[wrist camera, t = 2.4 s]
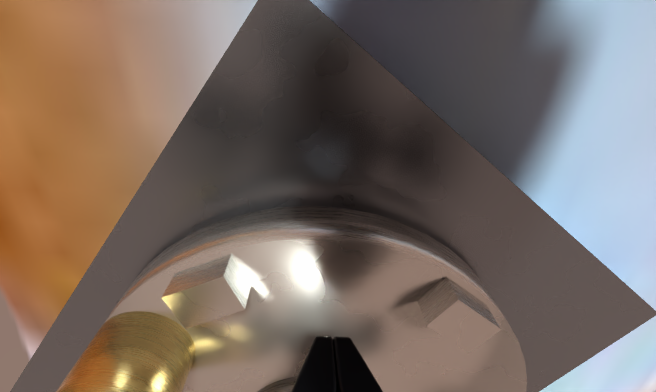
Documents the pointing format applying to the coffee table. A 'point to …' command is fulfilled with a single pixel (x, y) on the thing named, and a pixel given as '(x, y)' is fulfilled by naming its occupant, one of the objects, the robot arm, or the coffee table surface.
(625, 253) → the coffee table surface
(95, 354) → the silver round platform
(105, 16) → the coffee table surface
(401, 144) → the base plate
